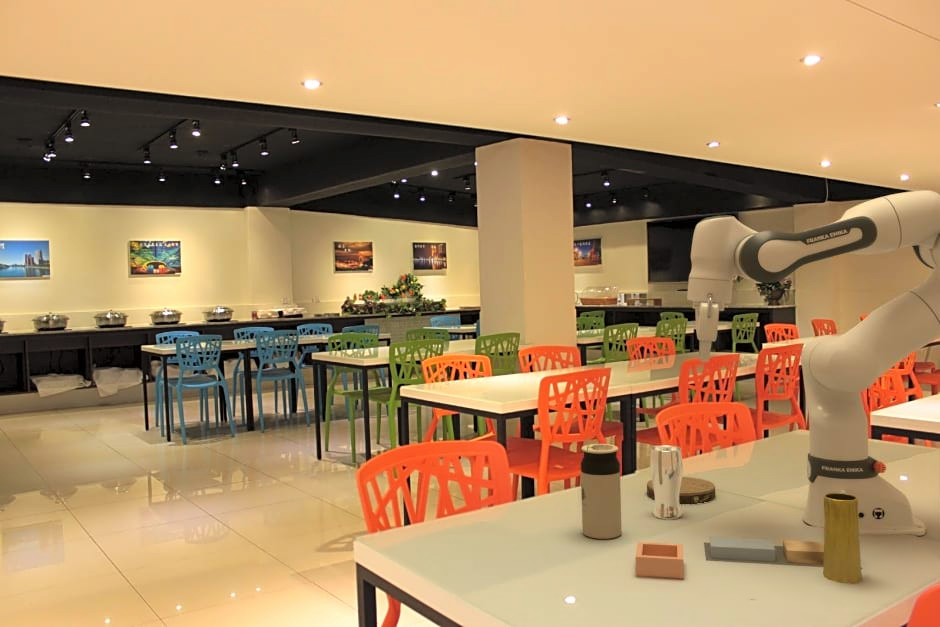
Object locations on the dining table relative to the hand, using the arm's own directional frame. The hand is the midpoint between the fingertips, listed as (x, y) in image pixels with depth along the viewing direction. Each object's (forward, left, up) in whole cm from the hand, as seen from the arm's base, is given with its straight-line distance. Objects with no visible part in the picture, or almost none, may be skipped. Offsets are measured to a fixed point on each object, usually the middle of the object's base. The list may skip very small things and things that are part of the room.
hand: (703, 359), depth 160 cm
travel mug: (+21, +9, -35) cm, 42 cm away
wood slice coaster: (+5, -23, -36) cm, 43 cm away
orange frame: (+9, +29, -35) cm, 46 cm away
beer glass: (+8, -6, -35) cm, 37 cm away
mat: (-12, +18, -35) cm, 41 cm away
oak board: (-18, +19, -35) cm, 43 cm away
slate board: (-5, +19, -35) cm, 40 cm away
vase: (-21, +27, -35) cm, 49 cm away
